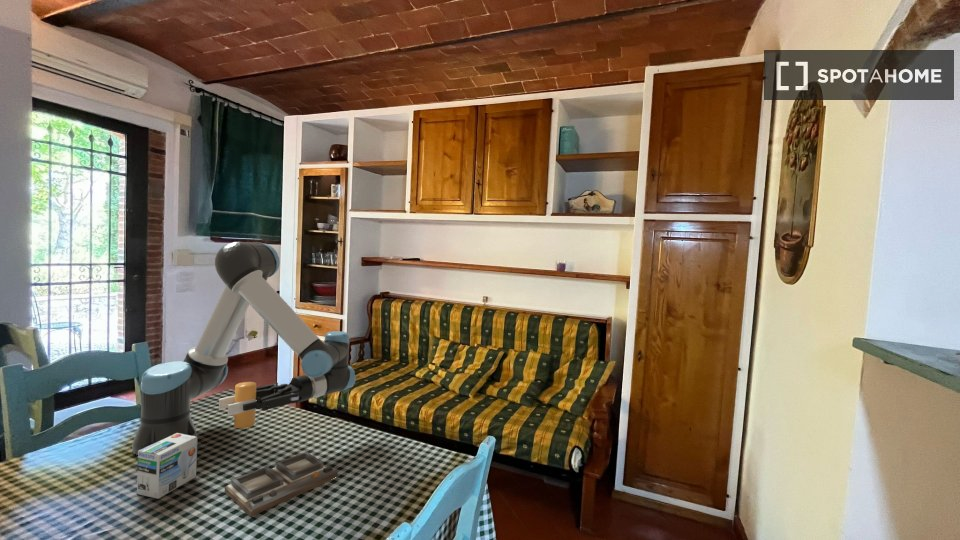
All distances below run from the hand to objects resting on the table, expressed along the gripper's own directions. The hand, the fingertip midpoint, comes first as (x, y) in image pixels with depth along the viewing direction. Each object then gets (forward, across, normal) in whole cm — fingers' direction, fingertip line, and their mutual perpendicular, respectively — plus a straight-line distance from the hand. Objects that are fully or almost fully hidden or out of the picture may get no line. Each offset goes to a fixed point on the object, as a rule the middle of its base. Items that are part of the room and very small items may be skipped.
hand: (224, 407), depth 108 cm
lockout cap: (-5, 0, -6) cm, 8 cm away
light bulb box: (+11, +4, -18) cm, 22 cm away
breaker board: (-8, -16, -18) cm, 25 cm away
